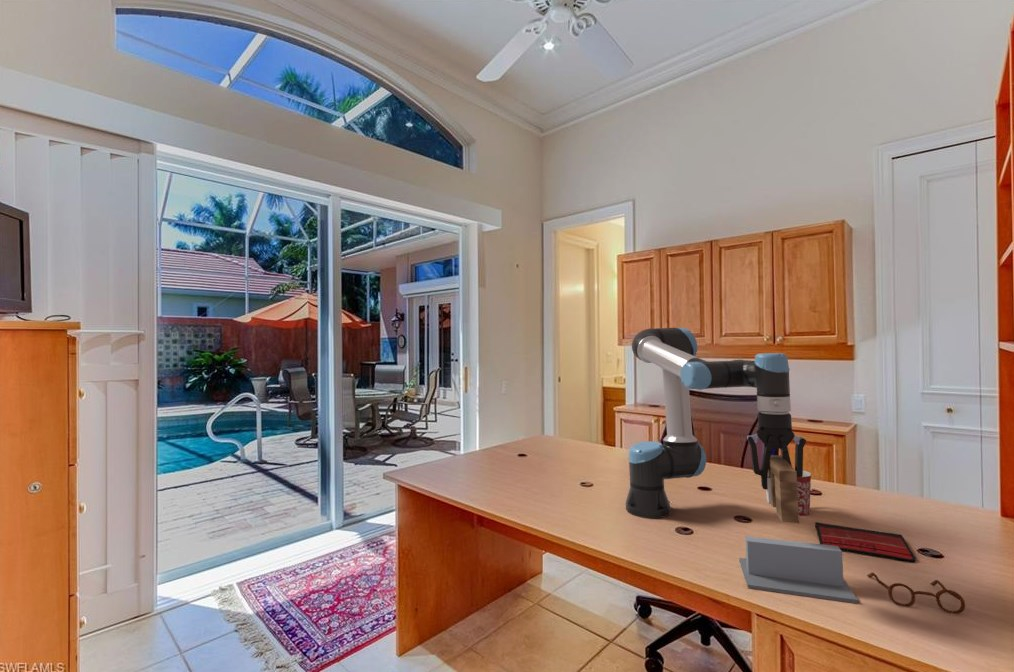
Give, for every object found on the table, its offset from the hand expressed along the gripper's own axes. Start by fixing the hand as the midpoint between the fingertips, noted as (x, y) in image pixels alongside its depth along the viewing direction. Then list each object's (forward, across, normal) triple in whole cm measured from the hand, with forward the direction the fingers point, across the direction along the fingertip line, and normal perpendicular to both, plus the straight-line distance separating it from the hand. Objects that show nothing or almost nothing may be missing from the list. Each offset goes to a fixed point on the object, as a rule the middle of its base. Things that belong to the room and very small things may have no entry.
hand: (778, 502), depth 116 cm
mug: (+17, +14, +47) cm, 52 cm away
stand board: (+17, +1, -5) cm, 18 cm away
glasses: (+18, +26, -3) cm, 32 cm away
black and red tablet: (+18, +24, +23) cm, 38 cm away
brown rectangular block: (+1, 0, -4) cm, 5 cm away
